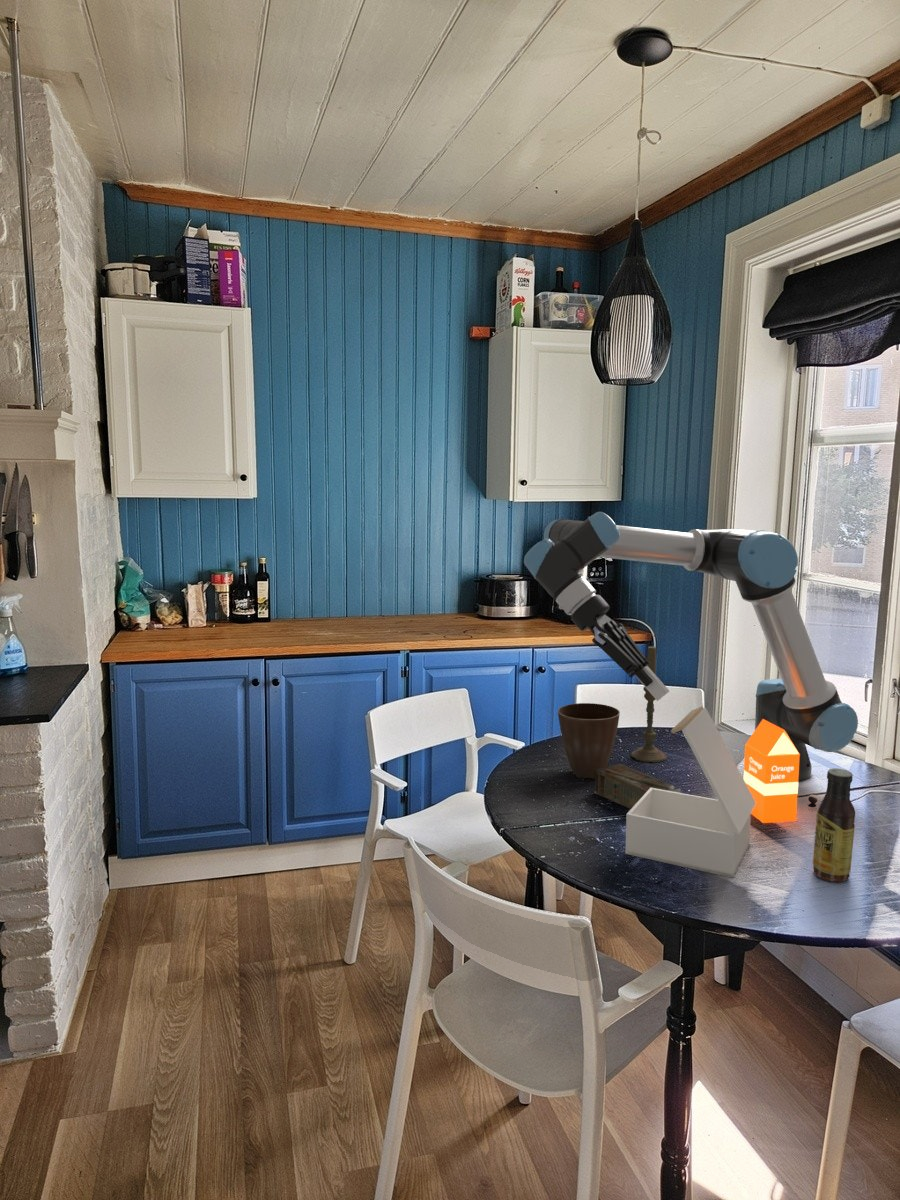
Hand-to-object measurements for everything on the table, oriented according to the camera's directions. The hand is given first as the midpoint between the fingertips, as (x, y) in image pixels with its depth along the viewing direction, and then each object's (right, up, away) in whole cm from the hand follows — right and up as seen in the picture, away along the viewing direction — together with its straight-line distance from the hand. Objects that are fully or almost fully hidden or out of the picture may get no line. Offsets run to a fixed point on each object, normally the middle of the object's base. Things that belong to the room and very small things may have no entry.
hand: (663, 696), depth 158 cm
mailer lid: (+8, -14, -3) cm, 16 cm away
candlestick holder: (+11, -23, +56) cm, 61 cm away
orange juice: (+28, -28, +18) cm, 43 cm away
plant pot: (-7, -25, +43) cm, 50 cm away
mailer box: (+5, -30, +1) cm, 30 cm away
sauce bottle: (+28, -32, -10) cm, 43 cm away
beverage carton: (0, -27, +25) cm, 37 cm away
